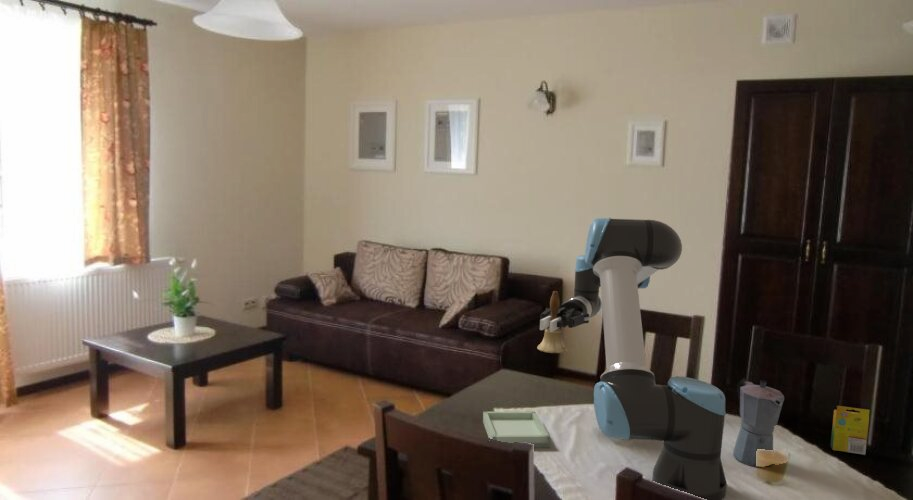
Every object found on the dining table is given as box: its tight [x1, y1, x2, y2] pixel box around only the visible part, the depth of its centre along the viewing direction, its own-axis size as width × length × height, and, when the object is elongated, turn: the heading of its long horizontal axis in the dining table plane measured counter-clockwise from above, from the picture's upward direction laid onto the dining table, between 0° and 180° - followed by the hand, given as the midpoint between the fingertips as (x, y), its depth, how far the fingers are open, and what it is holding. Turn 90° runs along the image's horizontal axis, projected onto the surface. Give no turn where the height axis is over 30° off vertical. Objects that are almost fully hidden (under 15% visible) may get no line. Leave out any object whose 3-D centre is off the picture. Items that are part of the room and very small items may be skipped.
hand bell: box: [536, 290, 569, 354], centre depth 175 cm, size 8×8×16 cm
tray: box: [482, 411, 550, 449], centre depth 164 cm, size 16×14×3 cm
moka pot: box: [732, 377, 785, 468], centre depth 154 cm, size 10×15×20 cm, turn 15°
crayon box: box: [830, 405, 871, 456], centre depth 161 cm, size 7×3×12 cm, turn 70°
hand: (546, 325), depth 170 cm, fingers closed on hand bell, 2 cm apart
